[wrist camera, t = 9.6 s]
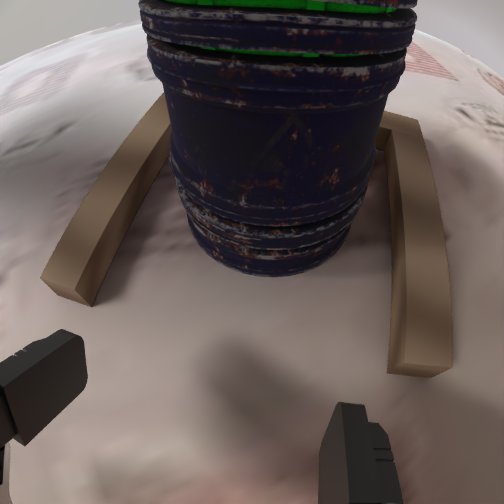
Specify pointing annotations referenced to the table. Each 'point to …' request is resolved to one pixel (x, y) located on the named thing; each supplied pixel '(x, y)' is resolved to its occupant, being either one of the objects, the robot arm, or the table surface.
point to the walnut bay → (402, 235)
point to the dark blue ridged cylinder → (275, 118)
